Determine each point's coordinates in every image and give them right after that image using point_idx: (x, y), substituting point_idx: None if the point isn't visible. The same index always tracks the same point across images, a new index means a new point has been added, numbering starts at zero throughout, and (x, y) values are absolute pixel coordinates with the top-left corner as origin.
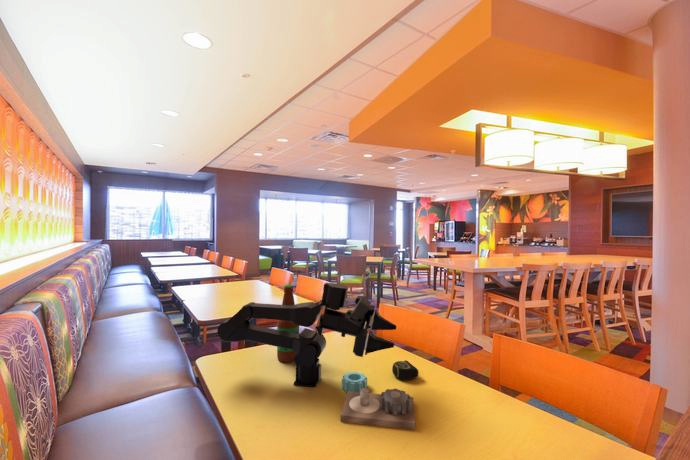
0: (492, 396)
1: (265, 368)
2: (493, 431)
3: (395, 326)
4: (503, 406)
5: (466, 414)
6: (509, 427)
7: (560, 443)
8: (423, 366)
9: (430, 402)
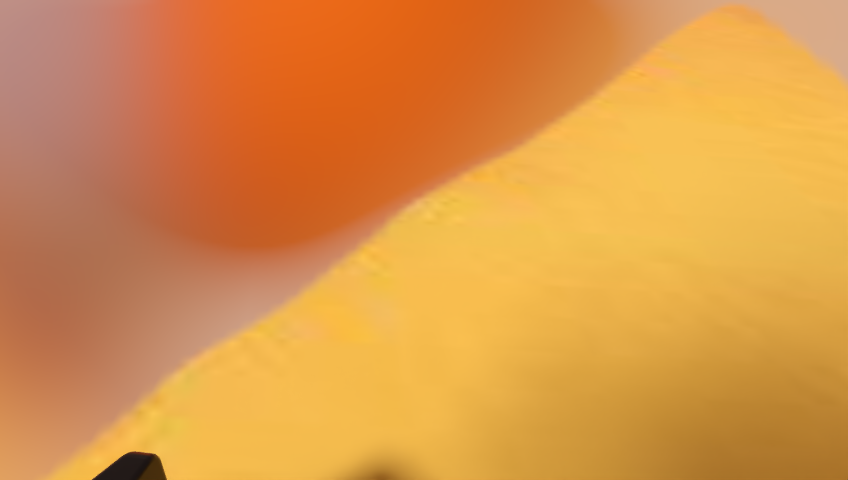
0: (500, 191)
1: None
2: (814, 206)
3: (148, 470)
4: (577, 167)
5: (715, 284)
6: (744, 163)
7: (769, 73)
8: None
9: (661, 449)
